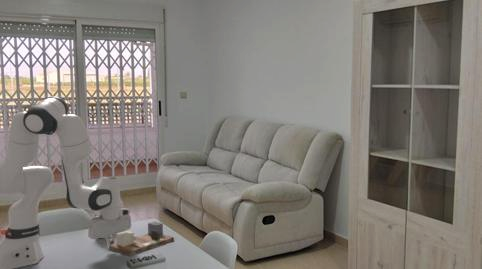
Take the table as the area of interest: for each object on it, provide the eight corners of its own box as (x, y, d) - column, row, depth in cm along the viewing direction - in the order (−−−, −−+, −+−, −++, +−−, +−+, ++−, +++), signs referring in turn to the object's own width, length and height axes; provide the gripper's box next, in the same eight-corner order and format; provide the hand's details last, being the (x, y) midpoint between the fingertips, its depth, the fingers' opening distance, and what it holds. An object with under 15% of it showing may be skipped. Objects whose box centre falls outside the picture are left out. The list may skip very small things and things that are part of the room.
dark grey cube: (156, 236, 218) (156, 225, 218) (148, 234, 222) (147, 223, 222) (162, 234, 222) (162, 223, 221) (154, 232, 225) (154, 221, 225)
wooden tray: (128, 255, 198) (128, 251, 197) (109, 249, 206) (109, 245, 206) (173, 240, 218) (173, 236, 218) (154, 234, 226) (154, 231, 226)
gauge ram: (126, 247, 203) (126, 236, 202) (116, 244, 207) (116, 233, 207) (141, 243, 209) (140, 232, 208) (130, 240, 214) (130, 229, 213)
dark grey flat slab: (158, 240, 212) (158, 232, 212) (151, 238, 215) (151, 230, 215) (160, 240, 213) (160, 231, 213) (153, 238, 216) (153, 229, 216)
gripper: (93, 219, 191) (94, 251, 192) (132, 209, 207) (133, 239, 208) (84, 216, 195) (85, 248, 196) (124, 207, 211) (124, 236, 212)
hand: (110, 243), depth 203 cm, fingers closed
